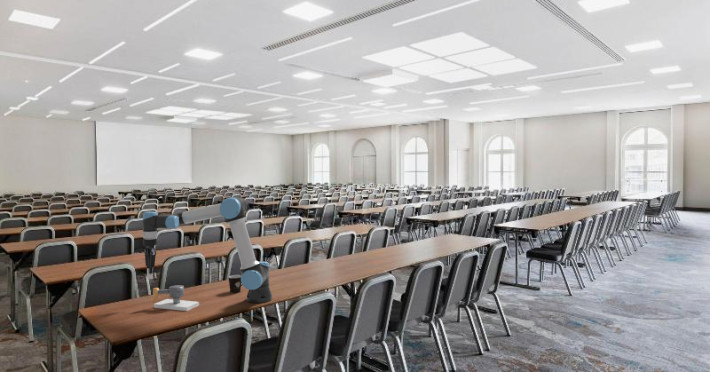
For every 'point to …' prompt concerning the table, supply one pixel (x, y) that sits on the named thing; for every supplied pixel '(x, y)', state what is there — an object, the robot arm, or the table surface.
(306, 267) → the table surface
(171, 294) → the orange knob joystick
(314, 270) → the table surface
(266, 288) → the robot arm
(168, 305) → the post base
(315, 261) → the table surface
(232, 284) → the coffee mug
